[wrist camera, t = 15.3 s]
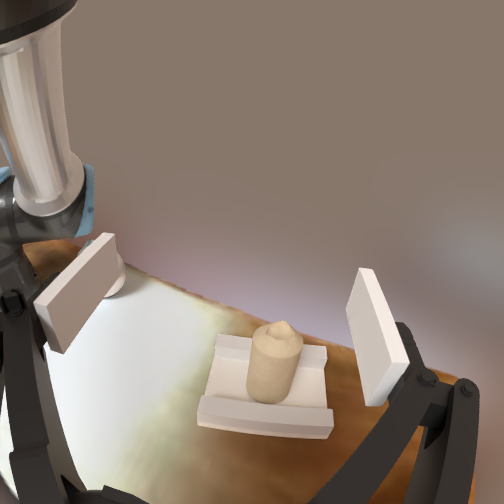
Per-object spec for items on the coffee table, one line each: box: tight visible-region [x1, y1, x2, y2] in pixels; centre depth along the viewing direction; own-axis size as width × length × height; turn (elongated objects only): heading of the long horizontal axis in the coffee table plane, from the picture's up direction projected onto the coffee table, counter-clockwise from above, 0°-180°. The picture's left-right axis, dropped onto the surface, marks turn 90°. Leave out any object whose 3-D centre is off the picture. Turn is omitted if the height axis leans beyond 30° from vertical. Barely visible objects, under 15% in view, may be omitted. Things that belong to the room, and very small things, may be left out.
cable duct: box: [197, 333, 334, 439], centre depth 37 cm, size 15×13×3 cm
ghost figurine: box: [77, 240, 126, 297], centre depth 50 cm, size 9×10×10 cm
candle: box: [246, 321, 303, 404], centre depth 35 cm, size 6×6×10 cm
